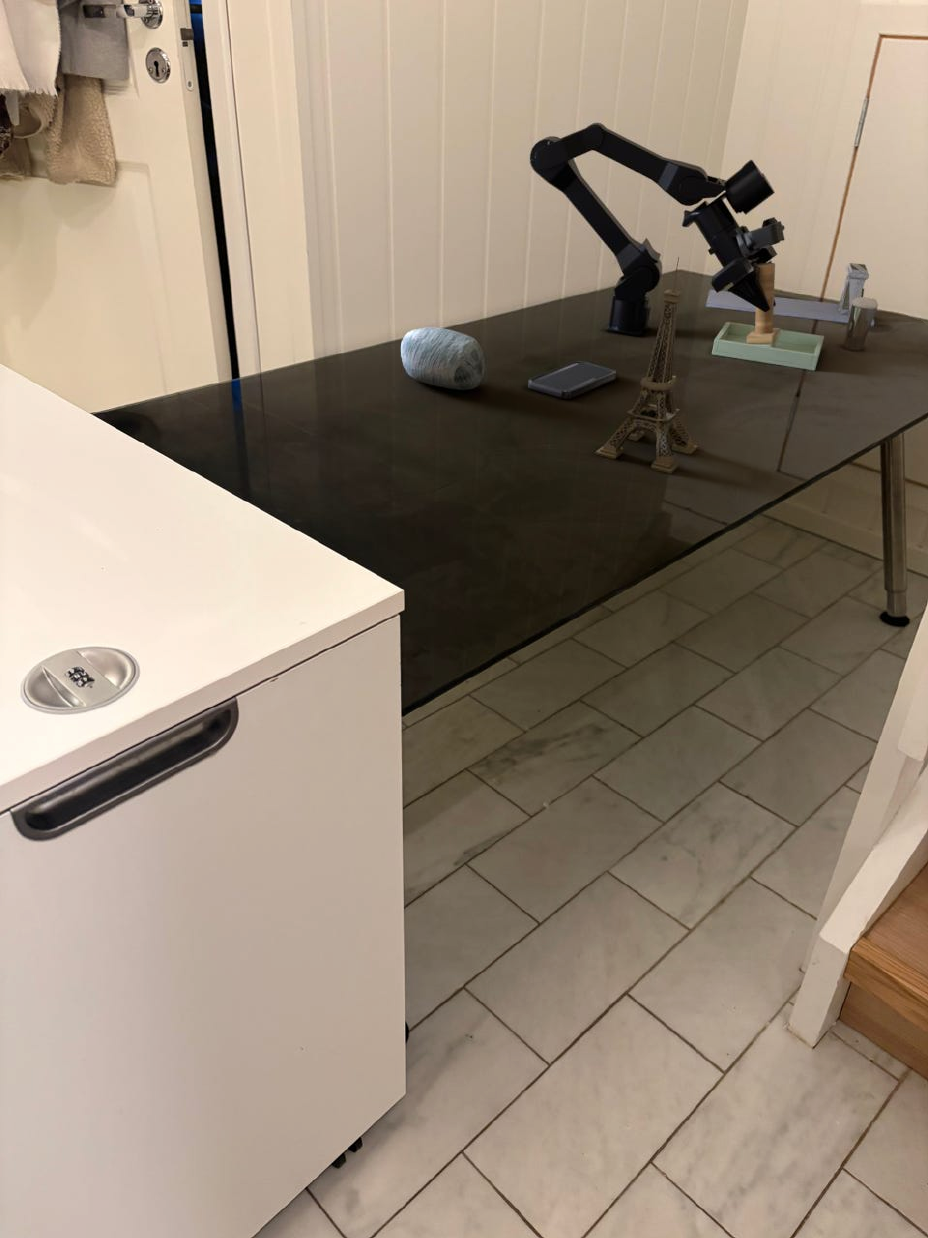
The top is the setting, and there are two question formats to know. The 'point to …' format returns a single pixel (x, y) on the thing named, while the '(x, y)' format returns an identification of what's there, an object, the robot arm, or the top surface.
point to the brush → (764, 320)
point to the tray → (788, 351)
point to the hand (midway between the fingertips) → (770, 308)
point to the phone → (572, 379)
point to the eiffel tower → (665, 411)
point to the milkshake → (859, 321)
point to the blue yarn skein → (443, 358)
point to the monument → (803, 307)
